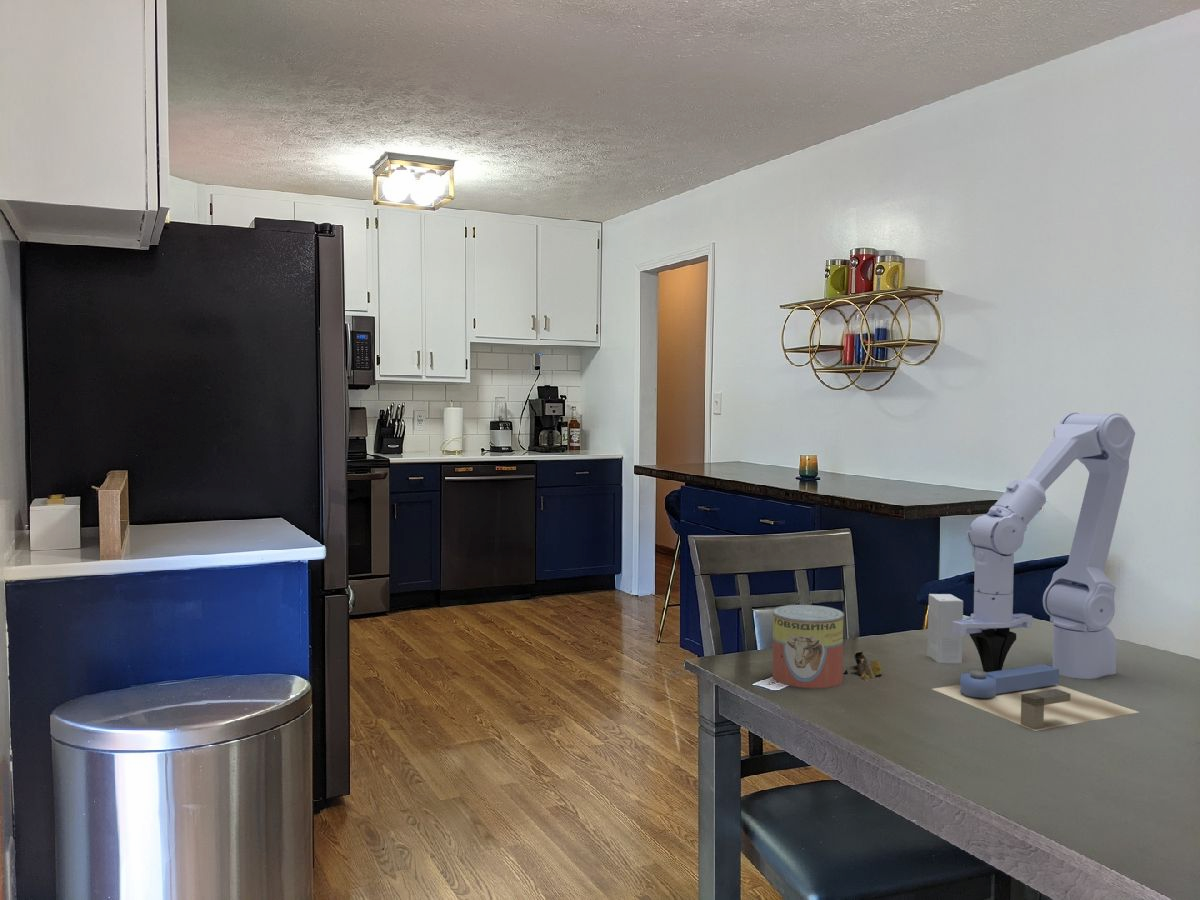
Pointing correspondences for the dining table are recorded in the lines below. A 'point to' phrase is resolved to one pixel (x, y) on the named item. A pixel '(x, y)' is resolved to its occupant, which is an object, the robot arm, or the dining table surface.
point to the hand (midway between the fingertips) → (991, 675)
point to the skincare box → (944, 628)
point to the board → (1054, 714)
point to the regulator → (866, 667)
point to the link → (1007, 680)
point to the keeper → (1039, 706)
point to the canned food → (808, 646)
